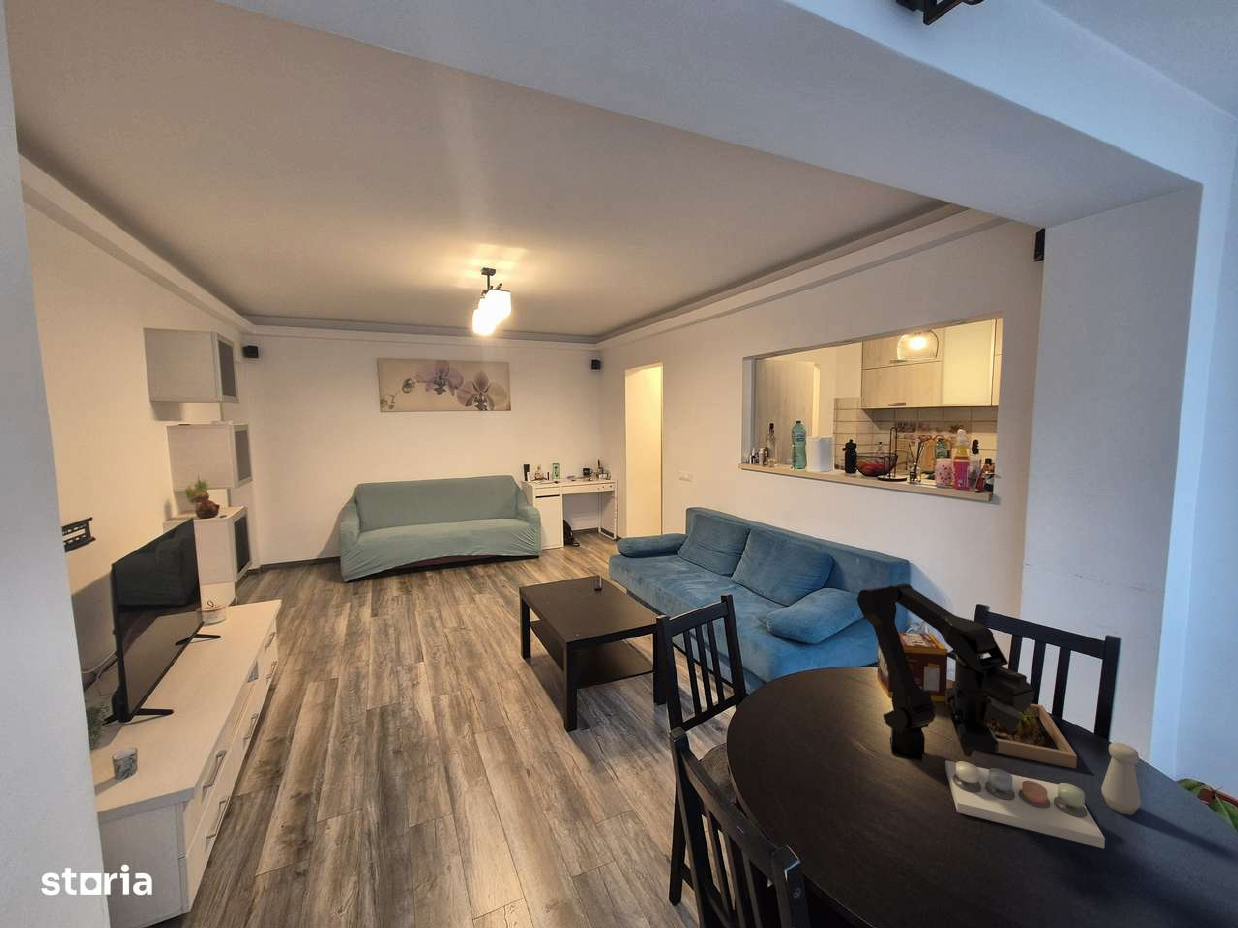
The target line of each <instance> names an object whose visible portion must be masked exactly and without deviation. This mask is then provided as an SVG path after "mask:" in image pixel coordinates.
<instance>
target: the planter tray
mask: <svg viewBox="0 0 1238 928" xmlns="http://www.w3.org/2000/svg"><path fill="white" fill-rule="evenodd" d="M951 702H952V700H950V706H951V709H952V713H954V710H953V707H952V704H951ZM1028 709H1029V710H1030V711H1031V712H1032V714H1034V716H1037V717H1036V718H1038V719H1039V720H1040V722H1041V723H1042V725H1043V727H1044V728H1045V729H1046V731H1048V732H1049V734H1050V736H1051V737H1052V742H1054V744H1055V746H1056V747H1057V749H1054V748H1053V749H1052V748H1050V747H1046V748H1044V747H1039V746H1035V745H1034V744H1033V745H1029V744H1024V743H1019V742H1013V741H1010V740H1006V739H1003V738H998V737H996V738H997V740H998V742H999V745H998V752H996V753H998V754H1003V755H1007V756H1012V757H1016V758H1017V757H1018V758H1021V759H1027V760H1031V761H1032V760H1033V761H1037V762H1040V763H1046V764H1052V765H1057V766H1061V767H1067V768H1070V769H1075V768H1076V769H1077V762H1078V761H1077V759H1078V758H1077V757H1078V756H1077V754H1076V752H1075V751H1074V749H1073V748H1072V746H1070V744H1069V743H1068V740H1066V738H1065V736H1064V735H1063V734H1062V732H1061V731H1060V728H1058V726H1057V725H1056V723H1055V721H1054V720H1053V719H1052V717H1051V716H1050V714H1049V713H1048V712H1047V710H1046V708H1045V707H1044V706H1043V705H1042V704H1036V703H1031V705H1030V706H1029V707H1028ZM1034 712H1035V713H1034Z"/></svg>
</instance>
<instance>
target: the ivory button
mask: <svg viewBox="0 0 1238 928" xmlns="http://www.w3.org/2000/svg"><path fill="white" fill-rule="evenodd" d="M977 767H978V766H976V765H974V764H973V763H970V762H968V761H964V760H959V761H956V775H957V776H958V777H959V778H960V779H961V780H963V781H966V782H969V783H976V782H978V777H979V770H978V768H977Z"/></svg>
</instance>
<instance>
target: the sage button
mask: <svg viewBox="0 0 1238 928" xmlns="http://www.w3.org/2000/svg"><path fill="white" fill-rule="evenodd" d="M1058 797H1059V799H1060V800H1062V801H1063V802H1065V803H1067V804H1069V805H1071V806H1075V807H1083V806H1084V805H1085V802H1086V801H1085V799H1086V794H1085V792H1084V791H1083V790H1082V789H1081V788H1080V787H1078V786H1076V785H1073V784H1071V783H1067V782H1060V783H1058Z"/></svg>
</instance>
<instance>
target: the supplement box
mask: <svg viewBox="0 0 1238 928" xmlns="http://www.w3.org/2000/svg"><path fill="white" fill-rule="evenodd" d="M898 634H899V637H900V640H901V642H902V645H903V648H904V651H905V654H906V657H907V660H908V662H909V665H910V668H911V671H912V674H913V677H914V679H915V682H916V684H917V685H918V686H919V687H920V688H921V689H922V690H923V691H928V692H929V693H930V695H931V699H932V702H933V701H934V702H935V701H936V702H946V701H945V690H947V675H948V657H947V656H946V655H945V654H946V653H948V651H949V650H948V648H946V647H945V645H944V644H943V643H942V642H940V640H939V639H938V638H937V637H936V636H935V634H933V633H921V632H903V631H898ZM876 676H877V681H878V682H879V685H880V686H881V688H882V690H883V691H884V693H885V695H886V696H887V697H888V698H892V694H893V688H894V687H893V683H892V680H891V677H890V674H889V671H888V668H887V665H886V662H885V659H884V656H883V653H882V650H881V647H880V644H879V641H878V640H877V675H876Z"/></svg>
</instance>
